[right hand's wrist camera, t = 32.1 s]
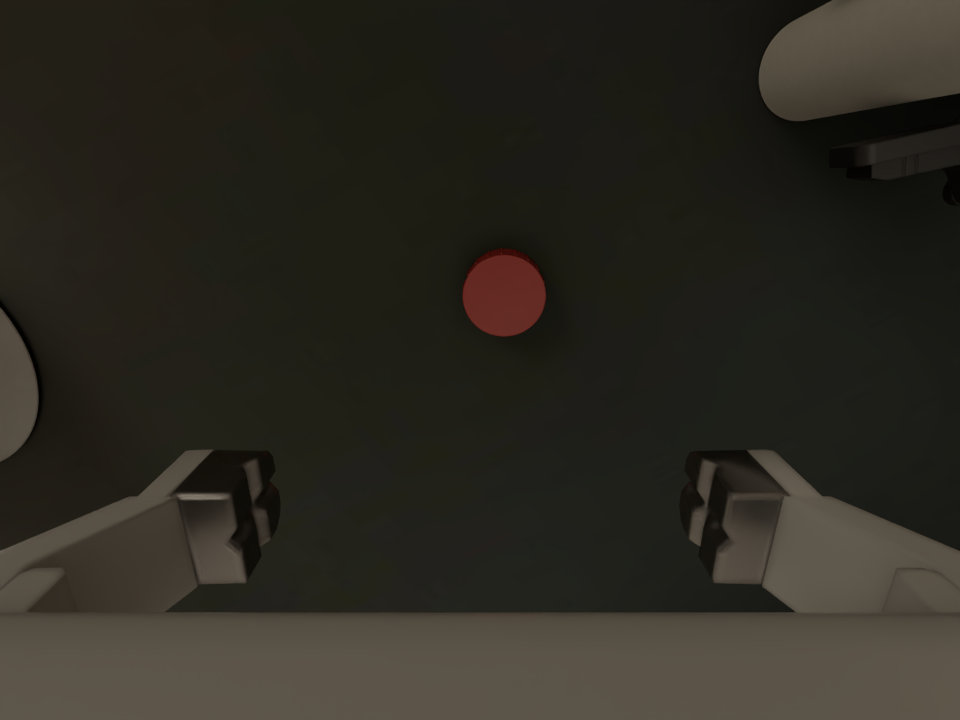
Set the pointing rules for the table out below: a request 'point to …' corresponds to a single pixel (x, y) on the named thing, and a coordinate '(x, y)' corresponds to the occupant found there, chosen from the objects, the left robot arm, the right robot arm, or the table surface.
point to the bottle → (862, 57)
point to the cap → (504, 292)
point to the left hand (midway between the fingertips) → (844, 52)
